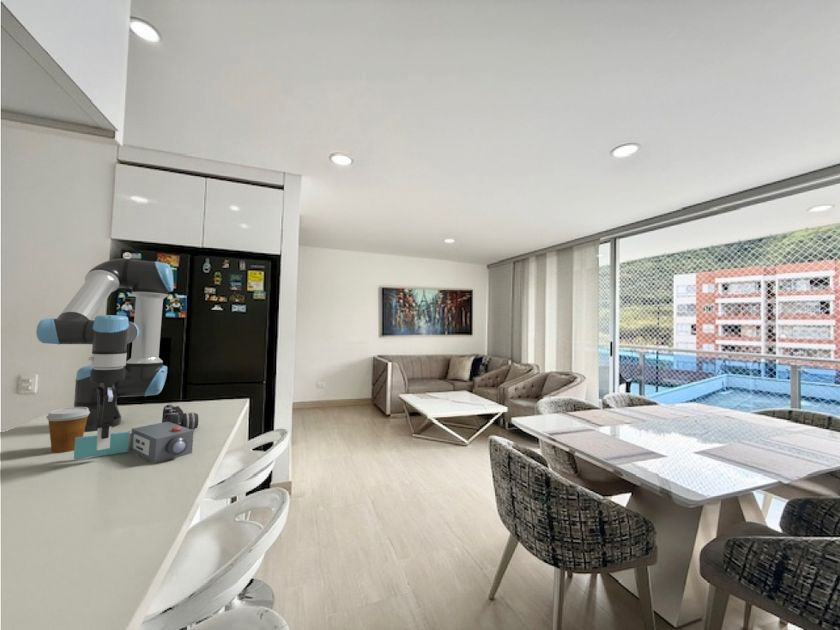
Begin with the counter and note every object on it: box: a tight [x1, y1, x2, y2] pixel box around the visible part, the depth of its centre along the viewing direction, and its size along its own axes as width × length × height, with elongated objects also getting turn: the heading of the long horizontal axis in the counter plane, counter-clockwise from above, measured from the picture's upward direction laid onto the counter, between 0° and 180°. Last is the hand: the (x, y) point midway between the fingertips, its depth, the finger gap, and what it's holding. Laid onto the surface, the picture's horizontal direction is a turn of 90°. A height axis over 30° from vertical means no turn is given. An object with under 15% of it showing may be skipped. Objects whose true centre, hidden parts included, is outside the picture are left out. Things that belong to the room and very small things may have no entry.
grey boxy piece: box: [130, 422, 194, 464], centre depth 105 cm, size 18×10×8 cm, turn 61°
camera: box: [161, 404, 199, 431], centre depth 123 cm, size 14×11×10 cm
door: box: [73, 430, 132, 460], centre depth 101 cm, size 12×2×6 cm, turn 127°
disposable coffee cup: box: [46, 406, 90, 453], centre depth 105 cm, size 10×10×12 cm
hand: (103, 448), depth 98 cm, fingers closed
